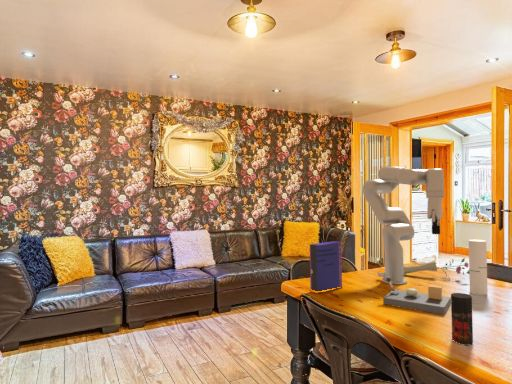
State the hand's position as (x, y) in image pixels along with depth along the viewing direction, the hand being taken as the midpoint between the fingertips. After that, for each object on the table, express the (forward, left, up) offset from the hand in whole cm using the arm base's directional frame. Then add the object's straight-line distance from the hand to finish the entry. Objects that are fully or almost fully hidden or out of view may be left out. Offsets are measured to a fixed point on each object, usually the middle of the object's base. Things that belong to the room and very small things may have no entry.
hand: (436, 233), depth 166 cm
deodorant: (+16, -50, -29) cm, 60 cm away
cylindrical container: (+15, +16, -29) cm, 37 cm away
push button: (-7, -18, -25) cm, 32 cm away
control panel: (-5, -18, -29) cm, 35 cm away
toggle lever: (-14, -18, -25) cm, 34 cm away
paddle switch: (+2, -16, -26) cm, 31 cm away
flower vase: (-9, +38, -29) cm, 49 cm away
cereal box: (-48, -18, -29) cm, 59 cm away
